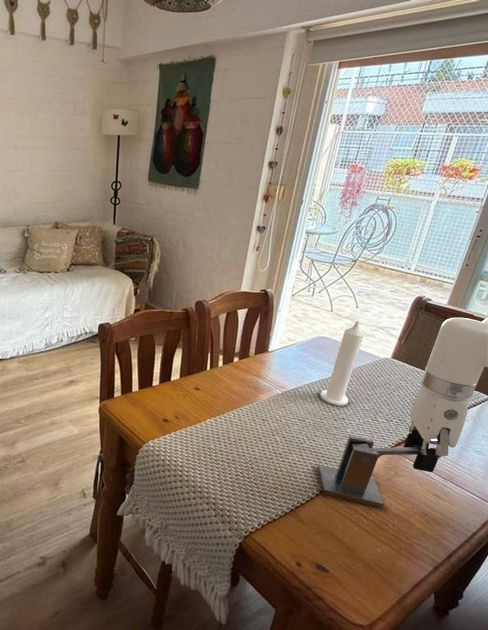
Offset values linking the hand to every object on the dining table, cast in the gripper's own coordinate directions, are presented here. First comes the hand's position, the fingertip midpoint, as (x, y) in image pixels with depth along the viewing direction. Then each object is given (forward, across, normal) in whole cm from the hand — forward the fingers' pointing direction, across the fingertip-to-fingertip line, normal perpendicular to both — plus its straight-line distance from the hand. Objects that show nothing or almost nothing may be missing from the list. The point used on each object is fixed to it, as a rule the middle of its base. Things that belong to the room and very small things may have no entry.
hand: (417, 459), depth 89 cm
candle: (+11, +38, +7) cm, 40 cm away
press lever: (+1, 0, +5) cm, 5 cm away
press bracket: (+11, 0, +10) cm, 15 cm away
